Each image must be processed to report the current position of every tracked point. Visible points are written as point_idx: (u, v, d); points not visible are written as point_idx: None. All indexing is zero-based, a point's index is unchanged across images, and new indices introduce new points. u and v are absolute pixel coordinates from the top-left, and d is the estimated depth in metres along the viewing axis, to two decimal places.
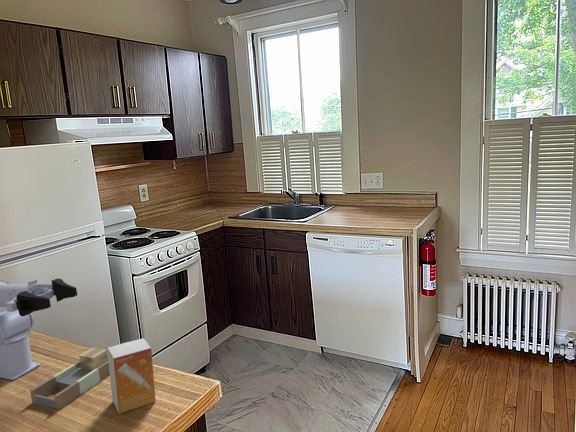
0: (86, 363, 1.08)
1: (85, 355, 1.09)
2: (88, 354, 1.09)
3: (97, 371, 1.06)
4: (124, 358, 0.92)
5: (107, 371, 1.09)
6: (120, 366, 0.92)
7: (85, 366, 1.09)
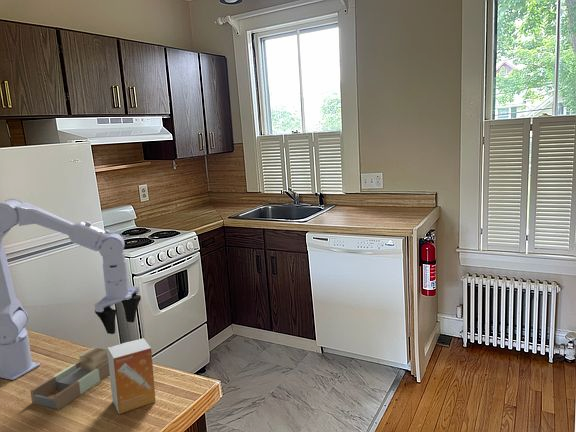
0: (86, 363, 1.08)
1: (85, 355, 1.09)
2: (88, 354, 1.09)
3: (97, 371, 1.06)
4: (124, 358, 0.92)
5: (107, 371, 1.09)
6: (120, 366, 0.92)
7: (85, 366, 1.09)
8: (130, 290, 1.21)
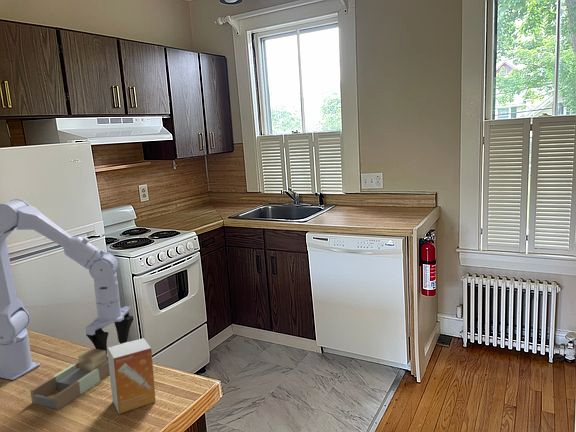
0: (85, 364, 1.08)
1: (84, 355, 1.08)
2: (87, 354, 1.09)
3: (97, 371, 1.06)
4: (124, 358, 0.92)
5: (107, 371, 1.09)
6: (120, 366, 0.92)
7: (84, 367, 1.08)
8: (122, 311, 1.19)
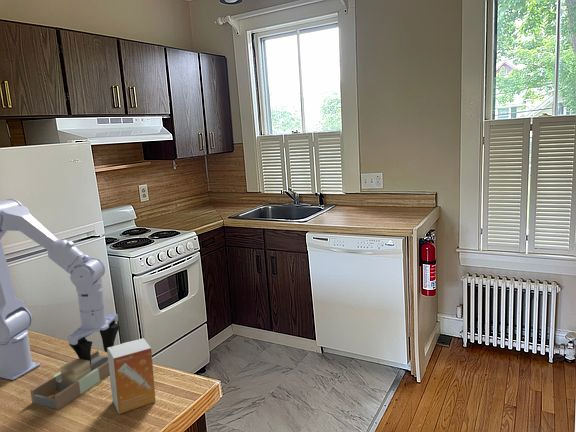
0: (67, 375, 1.03)
1: (66, 366, 1.03)
2: (69, 365, 1.04)
3: (97, 371, 1.06)
4: (124, 358, 0.92)
5: (107, 371, 1.09)
6: (120, 366, 0.92)
7: (66, 378, 1.03)
8: (108, 318, 1.14)
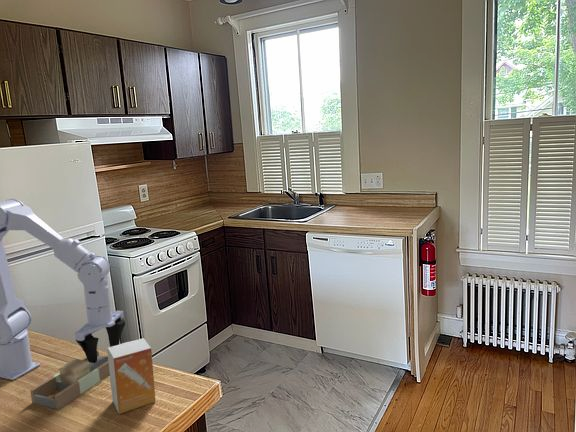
0: (66, 375, 1.03)
1: (65, 367, 1.03)
2: (68, 366, 1.04)
3: (97, 371, 1.06)
4: (124, 358, 0.92)
5: (107, 371, 1.09)
6: (120, 366, 0.92)
7: (65, 379, 1.03)
8: (114, 315, 1.16)
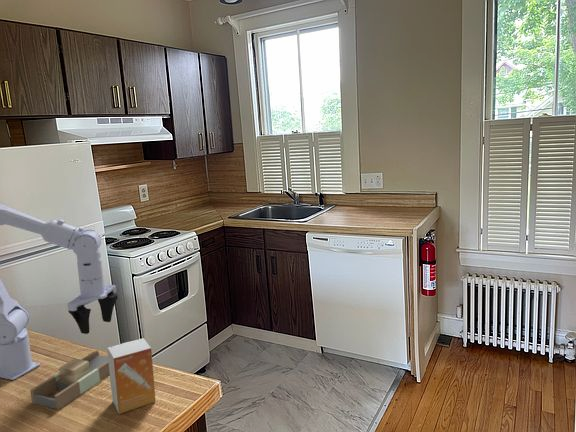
0: (66, 375, 1.03)
1: (65, 367, 1.03)
2: (68, 366, 1.04)
3: (97, 371, 1.06)
4: (124, 358, 0.92)
5: (107, 371, 1.09)
6: (120, 366, 0.92)
7: (65, 379, 1.03)
8: (106, 289, 1.18)
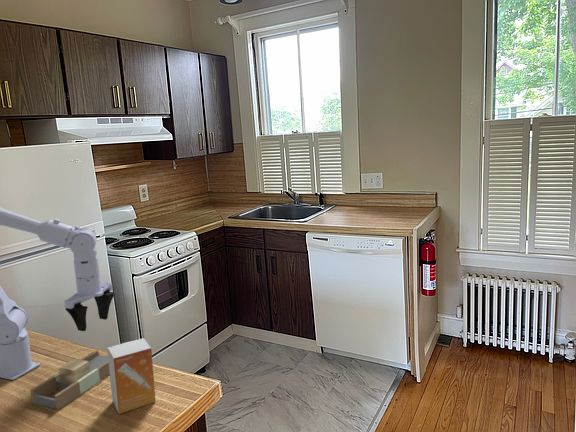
0: (66, 375, 1.03)
1: (65, 367, 1.03)
2: (68, 366, 1.04)
3: (97, 371, 1.06)
4: (124, 358, 0.92)
5: (107, 371, 1.09)
6: (120, 366, 0.92)
7: (65, 379, 1.03)
8: (103, 287, 1.20)
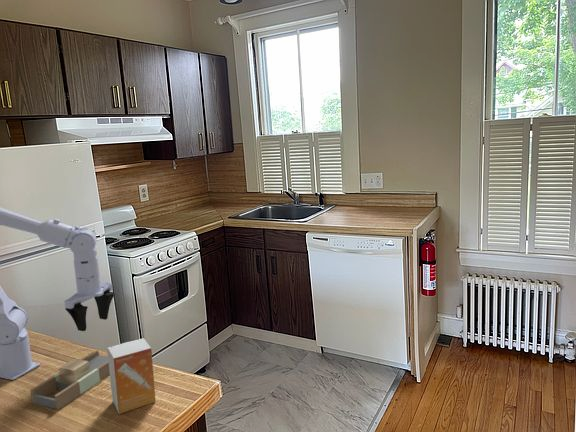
0: (66, 375, 1.03)
1: (65, 367, 1.03)
2: (68, 366, 1.04)
3: (97, 371, 1.06)
4: (124, 358, 0.92)
5: (107, 371, 1.09)
6: (120, 366, 0.92)
7: (65, 379, 1.03)
8: (103, 287, 1.20)
